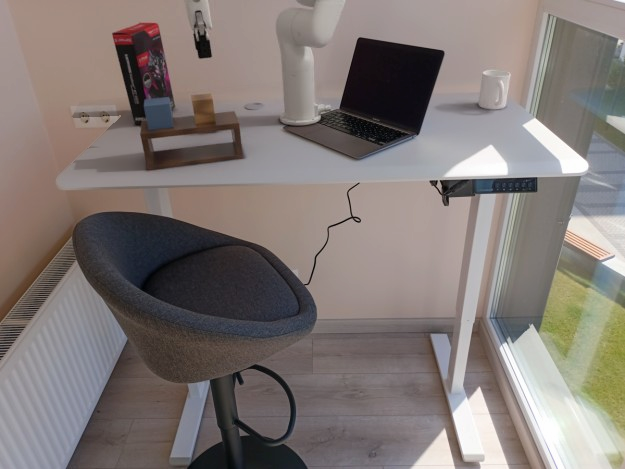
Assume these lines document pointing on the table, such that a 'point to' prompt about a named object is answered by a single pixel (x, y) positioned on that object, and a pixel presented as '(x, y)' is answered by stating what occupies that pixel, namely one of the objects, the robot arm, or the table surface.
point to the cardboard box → (203, 108)
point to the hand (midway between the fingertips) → (203, 53)
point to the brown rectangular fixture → (198, 152)
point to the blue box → (158, 113)
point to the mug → (494, 89)
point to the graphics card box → (142, 66)
